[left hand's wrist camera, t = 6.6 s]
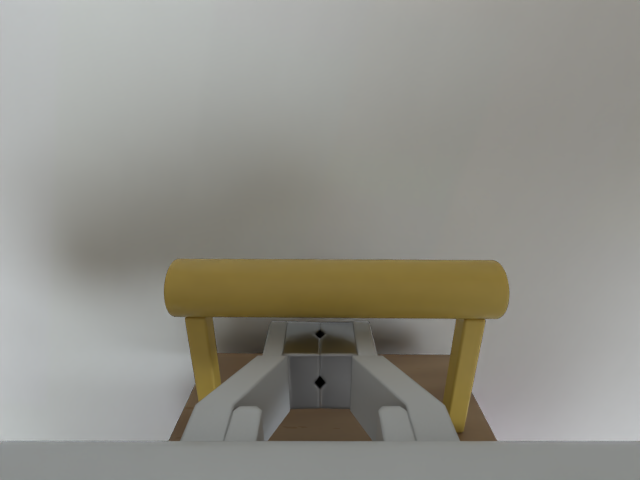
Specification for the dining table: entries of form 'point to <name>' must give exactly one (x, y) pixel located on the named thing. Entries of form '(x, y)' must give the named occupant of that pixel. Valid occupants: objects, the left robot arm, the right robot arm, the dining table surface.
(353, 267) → the drawer
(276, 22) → the dining table surface
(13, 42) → the dining table surface
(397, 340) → the dining table surface
